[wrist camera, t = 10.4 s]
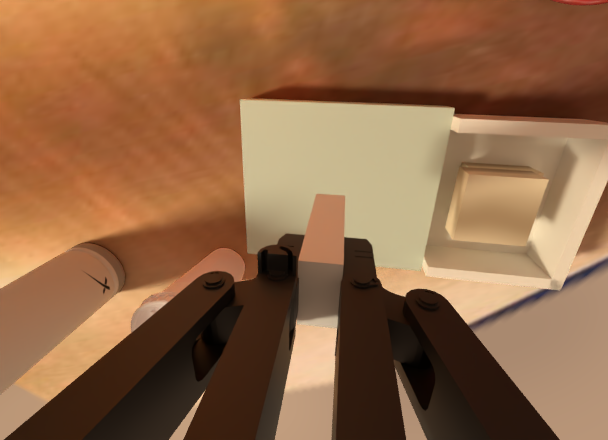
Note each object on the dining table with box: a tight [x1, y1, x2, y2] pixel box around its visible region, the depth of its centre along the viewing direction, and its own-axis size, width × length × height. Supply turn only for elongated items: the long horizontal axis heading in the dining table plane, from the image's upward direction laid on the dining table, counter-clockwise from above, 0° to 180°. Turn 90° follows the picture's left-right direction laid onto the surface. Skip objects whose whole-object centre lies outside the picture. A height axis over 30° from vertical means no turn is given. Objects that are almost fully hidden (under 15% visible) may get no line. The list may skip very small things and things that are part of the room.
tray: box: [422, 114, 608, 290], centre depth 22 cm, size 11×9×4 cm
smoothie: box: [131, 248, 245, 332], centre depth 24 cm, size 6×6×14 cm
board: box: [240, 98, 455, 271], centre depth 24 cm, size 12×14×2 cm
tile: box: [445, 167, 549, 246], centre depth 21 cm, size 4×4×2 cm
